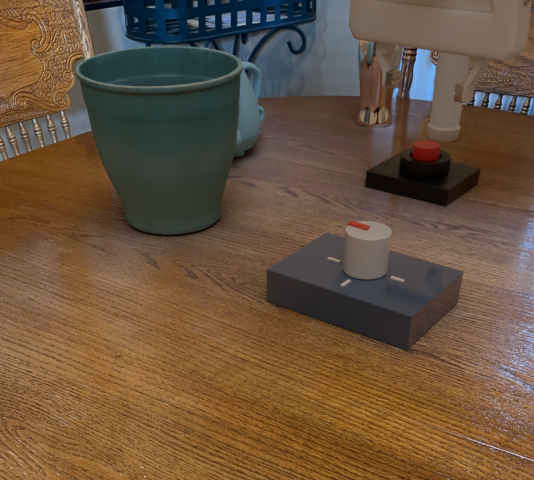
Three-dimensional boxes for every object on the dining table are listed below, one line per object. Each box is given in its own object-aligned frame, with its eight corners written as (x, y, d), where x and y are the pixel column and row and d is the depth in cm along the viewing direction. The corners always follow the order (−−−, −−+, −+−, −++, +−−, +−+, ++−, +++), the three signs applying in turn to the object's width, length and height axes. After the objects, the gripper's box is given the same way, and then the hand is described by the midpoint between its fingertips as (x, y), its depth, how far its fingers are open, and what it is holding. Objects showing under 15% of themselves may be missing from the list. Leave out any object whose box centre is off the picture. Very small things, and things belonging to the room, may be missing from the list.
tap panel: (457, 303, 71) (464, 269, 68) (406, 350, 64) (412, 315, 62) (324, 262, 78) (326, 230, 76) (266, 301, 71) (266, 267, 69)
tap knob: (395, 267, 69) (401, 225, 66) (372, 284, 66) (377, 240, 64) (357, 255, 71) (361, 214, 68) (333, 271, 68) (336, 228, 66)
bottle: (418, 137, 111) (445, -60, 94) (438, 130, 114) (468, -63, 97) (445, 145, 108) (477, -58, 91) (465, 138, 111) (500, -60, 94)
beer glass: (361, 114, 121) (369, 11, 111) (400, 119, 118) (412, 14, 108) (346, 125, 116) (354, 18, 106) (386, 130, 114) (398, 22, 104)
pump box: (477, 184, 96) (483, 154, 93) (445, 207, 90) (451, 175, 87) (399, 167, 101) (403, 137, 98) (364, 187, 95) (367, 156, 92)
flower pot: (249, 246, 81) (246, 82, 70) (93, 251, 80) (63, 86, 69) (243, 189, 94) (239, 44, 83) (108, 193, 94) (86, 47, 82)
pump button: (443, 157, 93) (445, 143, 92) (431, 164, 91) (433, 150, 90) (419, 152, 95) (421, 138, 94) (406, 159, 93) (408, 145, 91)
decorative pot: (183, 131, 114) (175, 34, 105) (275, 141, 110) (275, 40, 101) (134, 162, 103) (120, 57, 94) (235, 175, 98) (230, 65, 89)
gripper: (557, -54, 67) (523, 104, 76) (378, -66, 77) (367, 75, 86) (529, -48, 64) (497, 117, 73) (345, -61, 73) (337, 86, 83)
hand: (425, 94), depth 80 cm, fingers open, 8 cm apart
